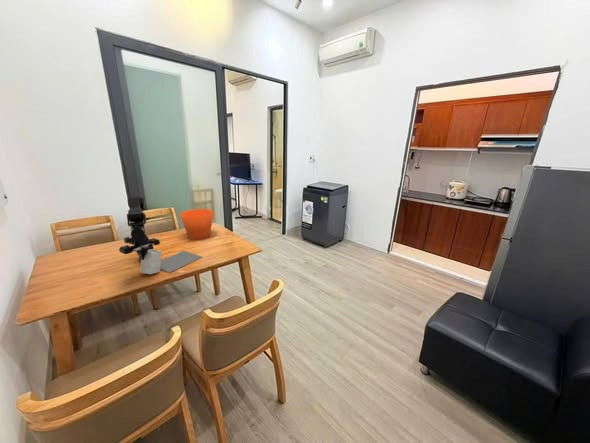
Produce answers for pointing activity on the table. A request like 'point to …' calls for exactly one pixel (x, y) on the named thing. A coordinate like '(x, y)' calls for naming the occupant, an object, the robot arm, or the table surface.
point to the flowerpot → (197, 223)
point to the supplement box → (151, 262)
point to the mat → (178, 261)
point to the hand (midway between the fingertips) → (142, 259)
